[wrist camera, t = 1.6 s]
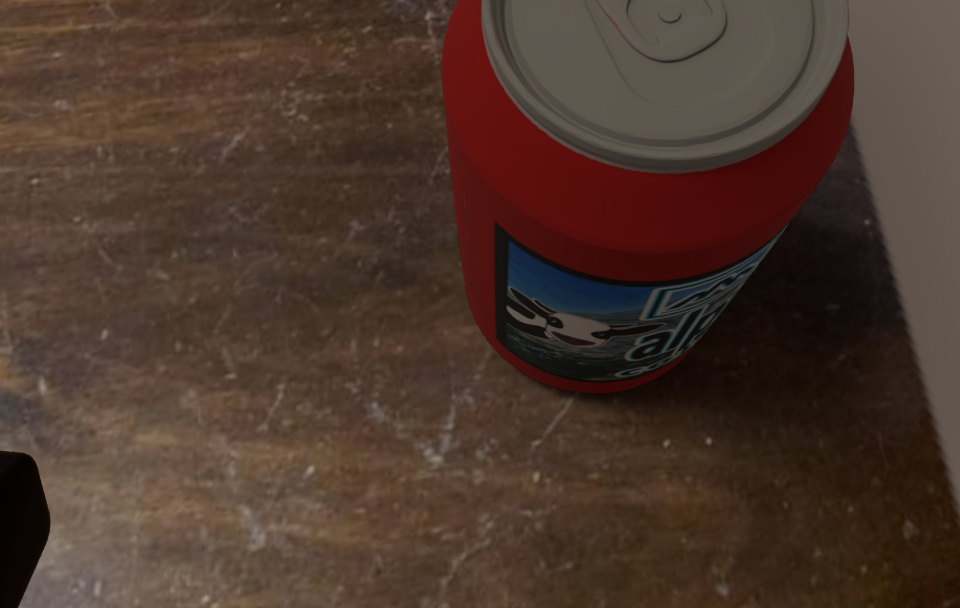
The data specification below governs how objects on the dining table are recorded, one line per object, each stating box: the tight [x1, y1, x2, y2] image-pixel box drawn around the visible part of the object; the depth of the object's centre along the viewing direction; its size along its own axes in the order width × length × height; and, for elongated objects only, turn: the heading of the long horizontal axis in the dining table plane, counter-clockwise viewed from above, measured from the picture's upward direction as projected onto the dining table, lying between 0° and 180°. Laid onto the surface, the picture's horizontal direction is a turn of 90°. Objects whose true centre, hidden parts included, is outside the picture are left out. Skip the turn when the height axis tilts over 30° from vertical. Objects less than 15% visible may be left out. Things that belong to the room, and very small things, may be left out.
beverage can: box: [442, 0, 854, 393], centre depth 19 cm, size 7×7×12 cm
